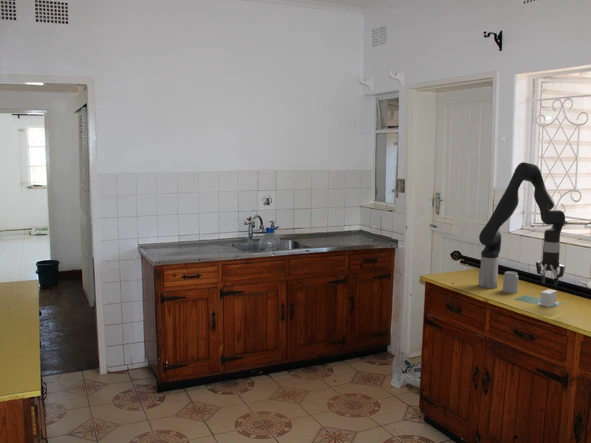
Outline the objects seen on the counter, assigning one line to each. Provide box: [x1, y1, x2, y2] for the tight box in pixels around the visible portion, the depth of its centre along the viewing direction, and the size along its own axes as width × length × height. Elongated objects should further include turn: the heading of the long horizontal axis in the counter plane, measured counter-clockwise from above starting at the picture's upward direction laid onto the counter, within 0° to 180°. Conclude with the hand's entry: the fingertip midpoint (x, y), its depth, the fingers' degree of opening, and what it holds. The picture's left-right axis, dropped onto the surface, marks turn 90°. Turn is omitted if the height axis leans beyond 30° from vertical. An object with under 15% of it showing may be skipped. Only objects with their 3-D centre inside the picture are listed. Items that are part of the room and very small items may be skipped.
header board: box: [513, 294, 564, 309], centre depth 280 cm, size 20×12×4 cm, turn 42°
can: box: [502, 270, 519, 294], centre depth 299 cm, size 8×8×12 cm
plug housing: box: [540, 288, 558, 306], centre depth 276 cm, size 8×4×6 cm, turn 132°
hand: (549, 283), depth 275 cm, fingers open, 5 cm apart
